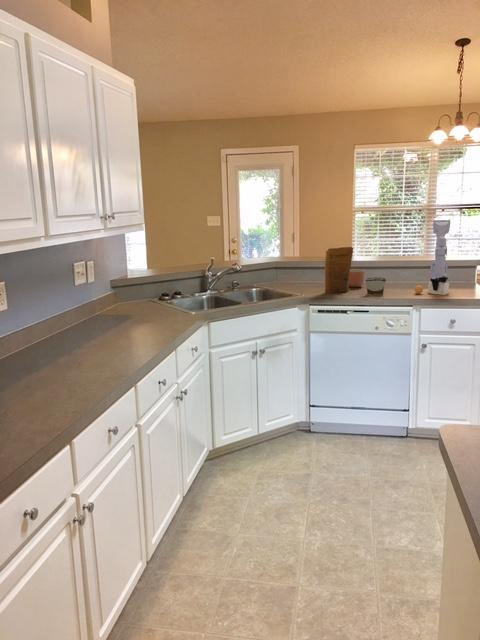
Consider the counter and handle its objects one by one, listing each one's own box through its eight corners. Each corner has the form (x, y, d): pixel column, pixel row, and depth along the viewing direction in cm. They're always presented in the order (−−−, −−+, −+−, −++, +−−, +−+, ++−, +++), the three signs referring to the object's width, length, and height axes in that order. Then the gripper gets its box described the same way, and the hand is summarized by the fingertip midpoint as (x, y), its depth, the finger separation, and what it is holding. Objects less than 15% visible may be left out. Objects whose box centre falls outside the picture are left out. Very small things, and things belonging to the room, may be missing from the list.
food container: (383, 293, 318) (384, 276, 315) (385, 294, 312) (386, 278, 309) (363, 293, 319) (364, 277, 317) (364, 294, 313) (365, 278, 311)
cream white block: (432, 291, 319) (433, 281, 318) (448, 293, 312) (449, 283, 311) (427, 293, 315) (428, 282, 314) (443, 294, 308) (444, 284, 307)
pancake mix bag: (354, 292, 322) (355, 247, 316) (325, 294, 318) (326, 248, 311) (349, 290, 328) (350, 246, 322) (321, 292, 324) (322, 247, 318)
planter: (352, 288, 335) (353, 272, 333) (341, 286, 346) (341, 269, 344) (368, 287, 340) (368, 270, 338) (356, 284, 351) (357, 268, 349)
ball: (416, 292, 317) (417, 284, 316) (424, 293, 313) (424, 285, 312) (412, 293, 314) (412, 285, 312) (420, 294, 310) (420, 286, 309)
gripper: (440, 268, 302) (438, 291, 305) (452, 266, 312) (450, 288, 315) (429, 267, 307) (427, 290, 310) (440, 265, 317) (439, 287, 320)
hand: (438, 289), depth 313 cm, fingers open, 7 cm apart
